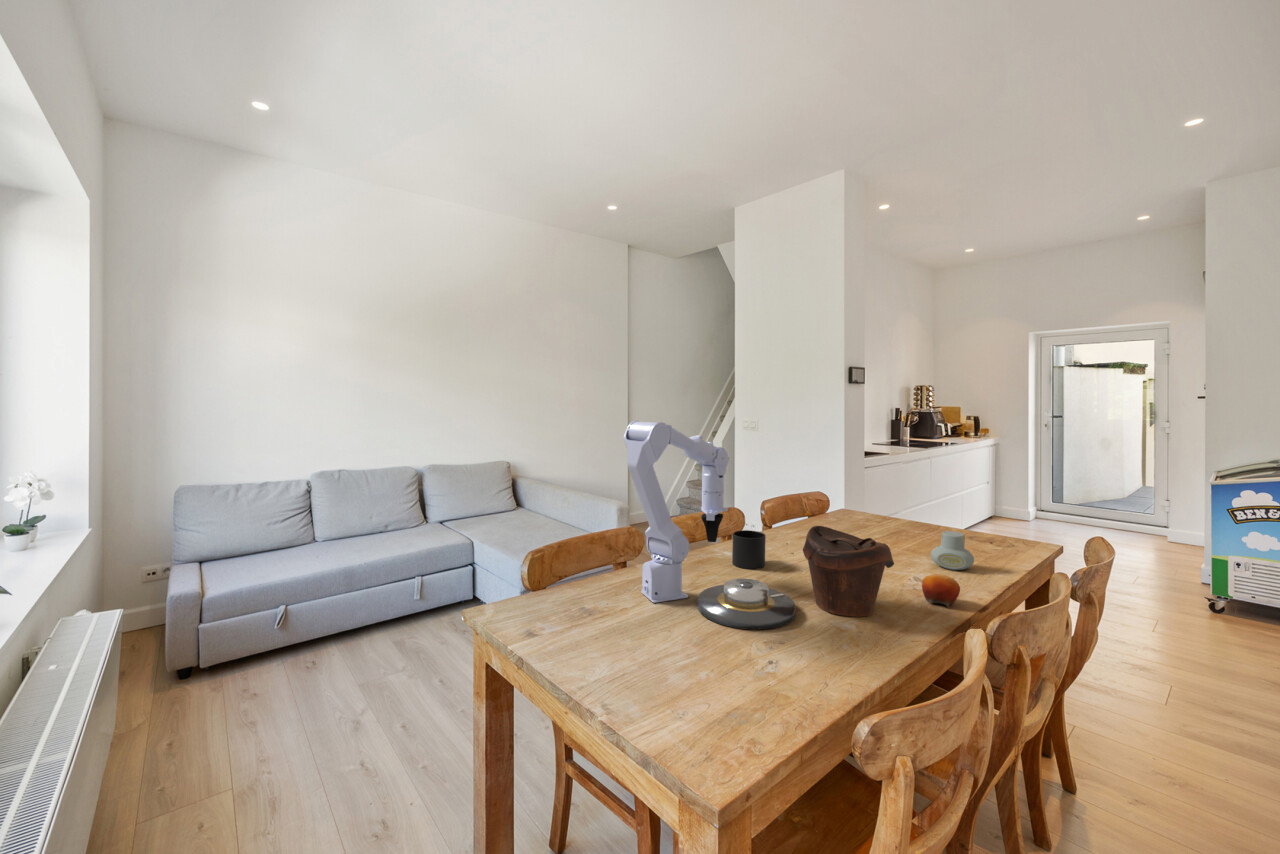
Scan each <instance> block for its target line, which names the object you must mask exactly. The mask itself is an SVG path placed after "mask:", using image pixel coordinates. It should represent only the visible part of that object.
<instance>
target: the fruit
mask: <svg viewBox="0 0 1280 854" xmlns="http://www.w3.org/2000/svg"><path fill="white" fill-rule="evenodd" d="M921 582H922V583H921V590H922V593H923V596H924V598H925V601H928V602H929V603H930V605H932V604H942V605H944V606H946V607H947V608H948V609H950V607H949V606H950V605H952V604H954V603H955V601H957V599H958V597H959V595H960V591H961V586H960V585H959V582H957V580H955V579H954V578H953V577H951V576H949V575H946V574H945V575H944V574H941V573H933V574H930V575H925V577H923V579H922V580H921Z"/></svg>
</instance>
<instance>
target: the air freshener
mask: <svg viewBox="0 0 1280 854" xmlns="http://www.w3.org/2000/svg"><path fill="white" fill-rule="evenodd" d="M940 537H941V538H940V539H941V540H940V545H937V546H936V547H934V548H933V549H932V550H931V551H930V557H931V560H932V561H933V562H934V563H935V564H936V565H938V566H939V567H941V568H943V569H946V570H949V571H960V570H961V571H962V570H966V569H968V568H971V567H972V566H973V565H974V562H975V558H974V555H973V554H972V552H971V551H969V550H967V548H965V539H966V536H965V534H964V533H961V532H958V531H950V530H949V531H947V530H945V531H942V532H941V536H940Z"/></svg>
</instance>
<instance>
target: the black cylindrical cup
mask: <svg viewBox="0 0 1280 854" xmlns="http://www.w3.org/2000/svg"><path fill="white" fill-rule="evenodd" d="M766 538H767V537H766V534H765V533H763V532H760V531H758V530H757V531H756V530H750V529H749V530H748V529H746V530H744V529H743V530H742V529H741V530H736V531H734V532H733V533H732V552H731V553H732V558H731V559H732V561H731V562H732V564H733V566H734V567H737V568H740V569H744V570H746V569H747V570H757V569H758V570H759V569H762V568H763V567H765V565H766V540H767V539H766Z"/></svg>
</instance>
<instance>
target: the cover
mask: <svg viewBox="0 0 1280 854" xmlns="http://www.w3.org/2000/svg"><path fill="white" fill-rule="evenodd" d="M723 585H724V601H725V603H727V604H728V605H730V606H732V607H735V608H740V609H750V610H751V609H761V608H764V607H766V606H767V605H768V588H769V586H768V584H766V583H764V582H763V581H759V580H756V579H750V578H734V579H729V580H727V581H725V582H724V584H723Z"/></svg>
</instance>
